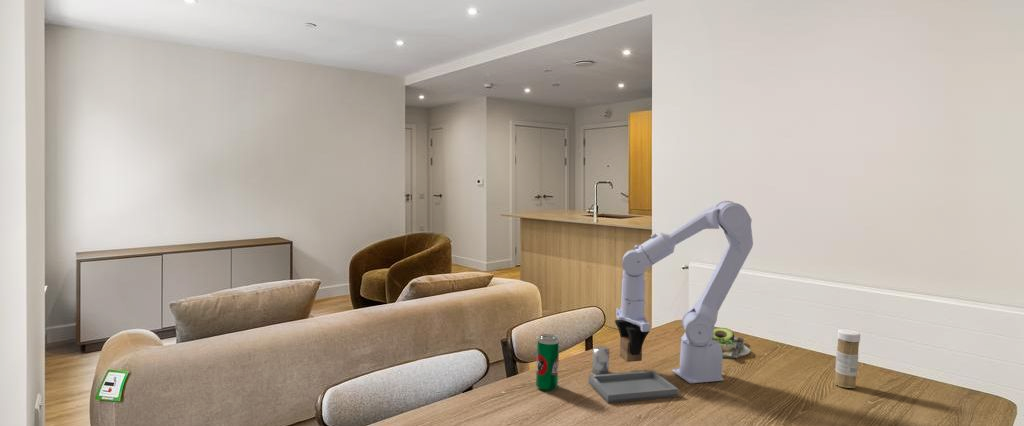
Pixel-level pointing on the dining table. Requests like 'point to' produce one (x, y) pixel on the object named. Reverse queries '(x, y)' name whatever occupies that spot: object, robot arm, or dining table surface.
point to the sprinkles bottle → (847, 358)
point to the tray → (632, 386)
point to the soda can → (547, 362)
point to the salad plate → (730, 343)
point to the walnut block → (628, 351)
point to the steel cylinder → (600, 360)
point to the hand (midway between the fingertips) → (631, 351)
